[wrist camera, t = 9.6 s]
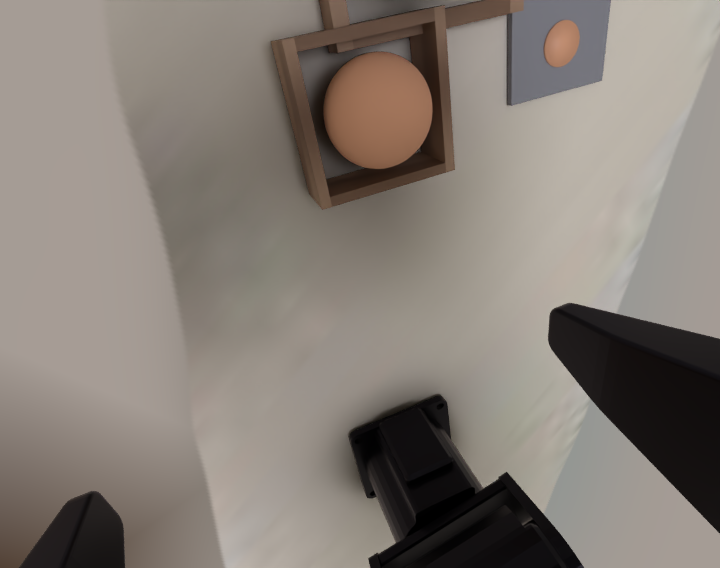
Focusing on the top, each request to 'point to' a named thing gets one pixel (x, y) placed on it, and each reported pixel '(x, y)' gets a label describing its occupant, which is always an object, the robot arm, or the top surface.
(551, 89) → the slate card
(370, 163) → the terracotta ball
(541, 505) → the top surface
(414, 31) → the walnut socket
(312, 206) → the top surface
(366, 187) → the walnut frame
